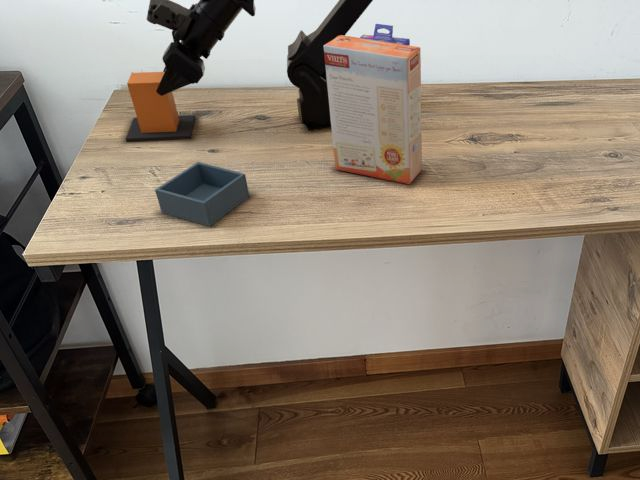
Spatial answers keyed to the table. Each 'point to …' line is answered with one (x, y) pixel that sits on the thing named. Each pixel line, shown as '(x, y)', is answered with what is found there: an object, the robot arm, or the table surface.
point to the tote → (202, 193)
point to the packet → (152, 103)
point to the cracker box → (375, 107)
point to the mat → (182, 132)
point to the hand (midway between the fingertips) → (162, 83)
